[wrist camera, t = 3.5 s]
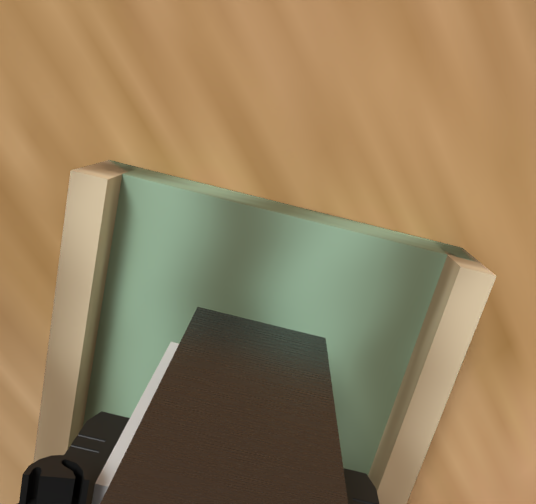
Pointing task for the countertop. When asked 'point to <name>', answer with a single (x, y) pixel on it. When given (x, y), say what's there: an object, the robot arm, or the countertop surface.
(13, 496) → the countertop surface
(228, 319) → the hammer
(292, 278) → the tray
